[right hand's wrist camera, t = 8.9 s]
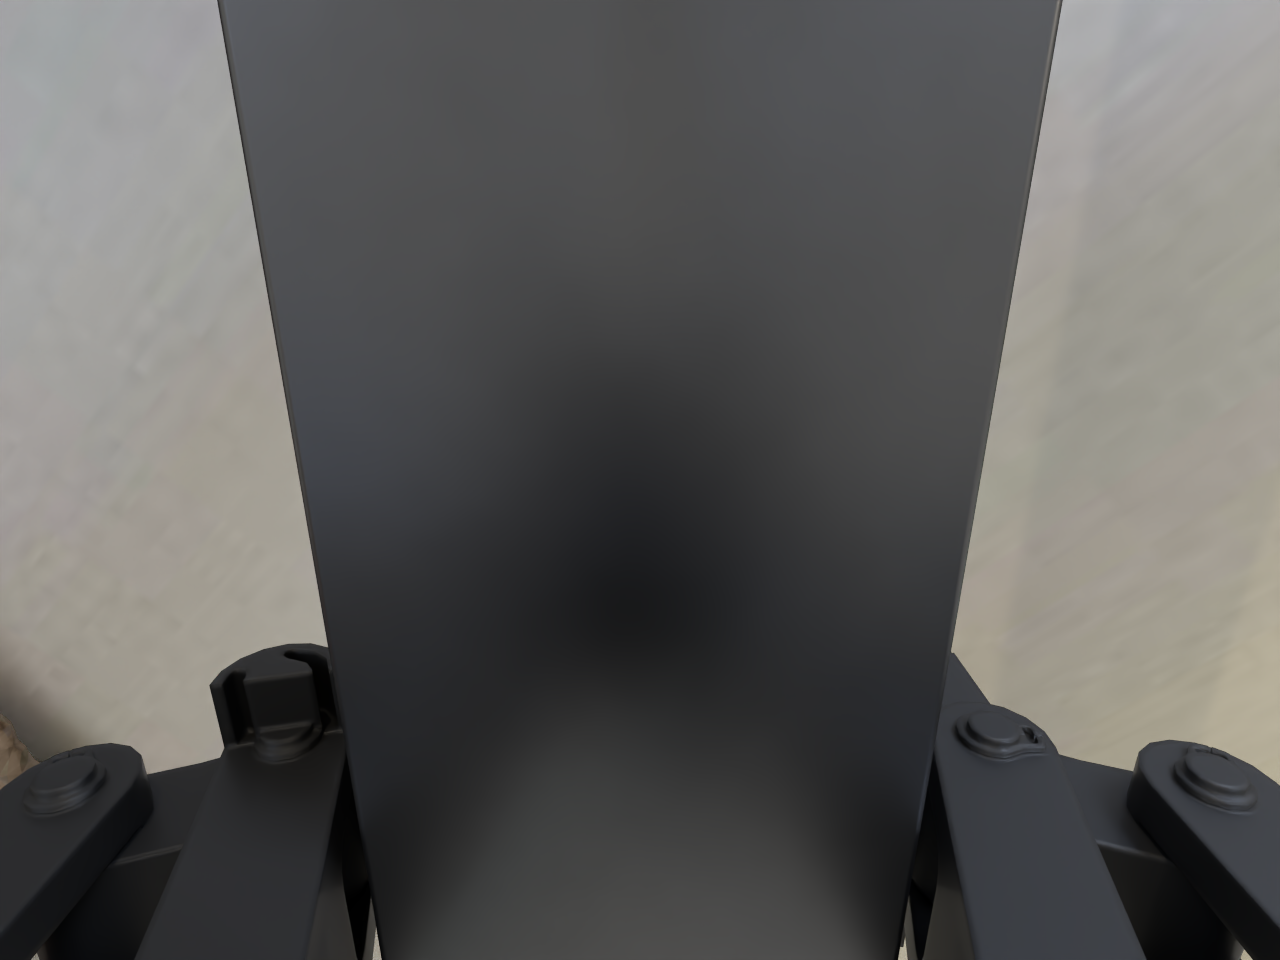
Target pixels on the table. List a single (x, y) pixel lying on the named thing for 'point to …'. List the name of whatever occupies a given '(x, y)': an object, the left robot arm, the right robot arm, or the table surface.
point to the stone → (12, 754)
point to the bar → (639, 441)
